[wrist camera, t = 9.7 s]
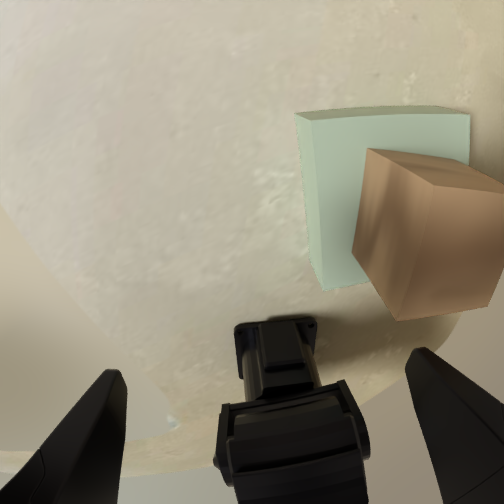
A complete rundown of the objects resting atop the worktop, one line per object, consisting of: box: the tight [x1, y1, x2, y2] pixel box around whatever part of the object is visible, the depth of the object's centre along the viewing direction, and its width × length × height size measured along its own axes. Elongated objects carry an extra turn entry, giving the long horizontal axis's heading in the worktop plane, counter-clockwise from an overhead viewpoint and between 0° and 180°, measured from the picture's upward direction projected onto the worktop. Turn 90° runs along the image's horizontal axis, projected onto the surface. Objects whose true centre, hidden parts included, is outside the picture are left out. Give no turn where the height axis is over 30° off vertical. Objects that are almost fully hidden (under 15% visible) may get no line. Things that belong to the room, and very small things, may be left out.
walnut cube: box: [351, 148, 504, 321], centre depth 14 cm, size 6×6×6 cm
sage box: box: [294, 106, 470, 291], centre depth 18 cm, size 10×10×4 cm
